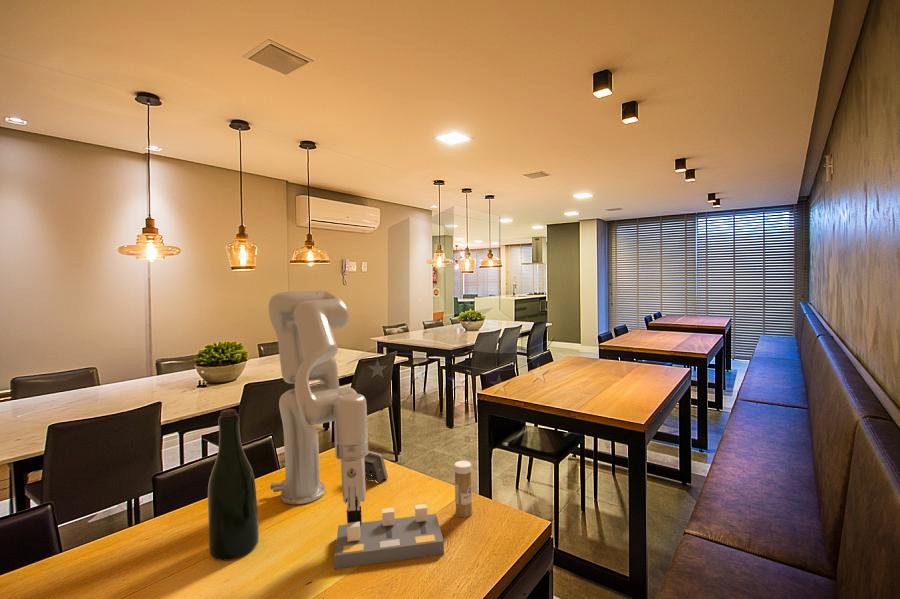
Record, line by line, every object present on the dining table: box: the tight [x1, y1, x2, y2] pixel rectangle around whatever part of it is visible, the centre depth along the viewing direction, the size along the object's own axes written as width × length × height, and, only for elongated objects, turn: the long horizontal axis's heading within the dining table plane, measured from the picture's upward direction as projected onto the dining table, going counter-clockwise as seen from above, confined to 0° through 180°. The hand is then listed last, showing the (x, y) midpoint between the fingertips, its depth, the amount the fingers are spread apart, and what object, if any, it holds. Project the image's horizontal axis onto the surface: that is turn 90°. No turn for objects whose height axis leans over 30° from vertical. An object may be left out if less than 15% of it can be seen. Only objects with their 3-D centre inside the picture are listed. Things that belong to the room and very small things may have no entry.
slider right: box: [414, 503, 428, 522], centre depth 106 cm, size 3×2×3 cm
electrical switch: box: [364, 450, 389, 484], centre depth 136 cm, size 9×5×9 cm, turn 57°
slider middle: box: [381, 507, 395, 526], centre depth 105 cm, size 3×2×3 cm
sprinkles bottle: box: [453, 460, 473, 518], centre depth 115 cm, size 5×5×13 cm
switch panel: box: [333, 513, 445, 570], centre depth 102 cm, size 24×12×3 cm, turn 100°
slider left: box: [346, 522, 360, 541], centre depth 99 cm, size 3×2×3 cm
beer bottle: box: [207, 408, 260, 561], centre depth 102 cm, size 10×10×33 cm
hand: (354, 524), depth 102 cm, fingers closed
